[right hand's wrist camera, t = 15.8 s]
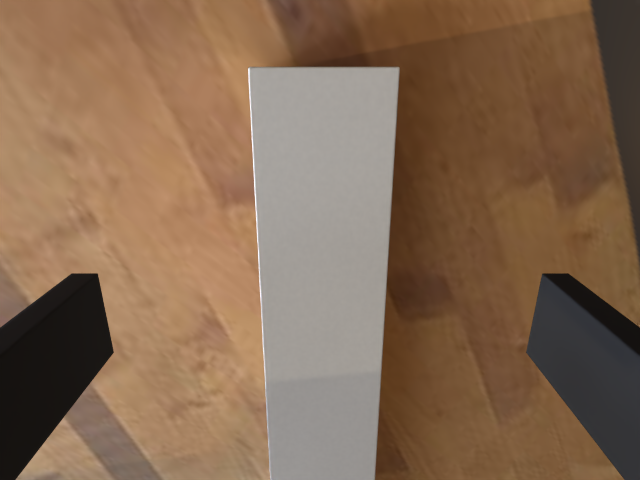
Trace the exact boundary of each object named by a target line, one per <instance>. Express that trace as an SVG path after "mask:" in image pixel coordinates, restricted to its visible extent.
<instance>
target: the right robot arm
mask: <svg viewBox="0 0 640 480" xmlns="http://www.w3.org/2000/svg"><path fill="white" fill-rule="evenodd" d="M113 353H114V351H113V347H112V342H111V337H110V332H109V327H108V322H107V317H106V312H105V307H104V302H103V297H102V292H101V287H100V282H99V278H98V274H71V275H69V276H68V277H67V278H65V279H64V280H63V281H61V282H60V283H59V284H57V285H56V286H55V287H53V288H52V289H51V290H49V291H48V292H47V293H45V294H44V295H43V296H41V297H40V298H39V299H38V300H36V301H35V302H34V303H32V304H31V305H30V306H28V307H27V308H26V309H24V310H23V311H22V312H20V313H19V314H18V315H16V316H15V317H14V318H12V319H11V320H10V321H8V322H7V323H6V324H5V325H3V326H2V327H1V328H0V480H16V478H17V477H18V476H19V474H20V473H21V472H22V470H23V469H24V468H25V467H26V465H27V464H28V463H29V461H30V460H31V459H32V458H33V456H34V455H35V454H36V452H37V451H38V450H39V448H40V447H41V446H42V445H43V443H44V442H45V441H46V439H47V438H48V437H49V436H50V434H51V433H52V432H53V430H54V429H55V428H56V426H57V425H58V424H59V423H60V421H61V420H62V419H63V417H64V416H65V415H66V414H67V412H68V411H69V410H70V408H71V407H72V406H73V404H74V403H75V402H76V401H77V399H78V398H79V397H80V395H81V394H82V393H83V392H84V390H85V389H86V388H87V386H88V385H89V384H90V382H91V381H92V380H93V379H94V377H95V376H96V375H97V373H98V372H99V371H100V370H101V368H102V367H103V366H104V364H105V363H106V362H107V360H108V359H109V358H110V357H111V355H112V354H113ZM526 353H527V354H528V355H529V357H530V358H531V359H532V360H533V362H534V363H535V364H536V366H537V367H538V368H539V370H540V371H541V372H542V373H543V375H544V376H545V377H546V379H547V380H548V381H549V382H550V384H551V385H552V386H553V388H554V389H555V390H556V392H557V393H558V394H559V395H560V397H561V398H562V399H563V401H564V402H565V403H566V404H567V406H568V407H569V408H570V410H571V411H572V412H573V414H574V415H575V416H576V417H577V419H578V420H579V421H580V423H581V424H582V425H583V426H584V428H585V429H586V430H587V432H588V433H589V434H590V436H591V437H592V438H593V439H594V441H595V442H596V443H597V445H598V446H599V447H600V448H601V450H602V451H603V452H604V454H605V455H606V456H607V458H608V459H609V460H610V461H611V463H612V464H613V465H614V467H615V468H616V469H617V470H618V472H619V473H620V474H621V476H622V477H623V478H624V480H640V328H639V327H638V326H637V325H635V324H634V323H633V322H632V321H630V320H629V319H628V318H626V317H625V316H624V315H622V314H621V313H620V312H618V311H617V310H616V309H614V308H613V307H612V306H610V305H609V304H608V303H606V302H605V301H604V300H602V299H601V298H600V297H599V296H597V295H596V294H595V293H593V292H592V291H591V290H589V289H588V288H587V287H585V286H584V285H583V284H581V283H580V282H579V281H577V280H576V279H575V278H573V277H572V276H571V275H569V274H542V278H541V282H540V287H539V292H538V297H537V302H536V307H535V312H534V317H533V322H532V327H531V332H530V337H529V342H528V347H527V351H526Z"/></svg>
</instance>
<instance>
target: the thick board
mask: <svg viewBox="0 0 640 480" xmlns="http://www.w3.org/2000/svg"><path fill="white" fill-rule="evenodd" d="M399 72H400V68H399V67H249V68H248V74H249V92H250V111H251V129H252V148H253V167H254V185H255V204H256V222H257V241H258V259H259V278H260V296H261V315H262V334H263V352H264V371H265V389H266V408H267V426H268V445H269V464H270V480H375V469H376V453H377V436H378V420H379V403H380V386H381V370H382V353H383V337H384V320H385V304H386V287H387V271H388V254H389V238H390V221H391V205H392V188H393V172H394V155H395V139H396V122H397V105H398V89H399Z"/></svg>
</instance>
